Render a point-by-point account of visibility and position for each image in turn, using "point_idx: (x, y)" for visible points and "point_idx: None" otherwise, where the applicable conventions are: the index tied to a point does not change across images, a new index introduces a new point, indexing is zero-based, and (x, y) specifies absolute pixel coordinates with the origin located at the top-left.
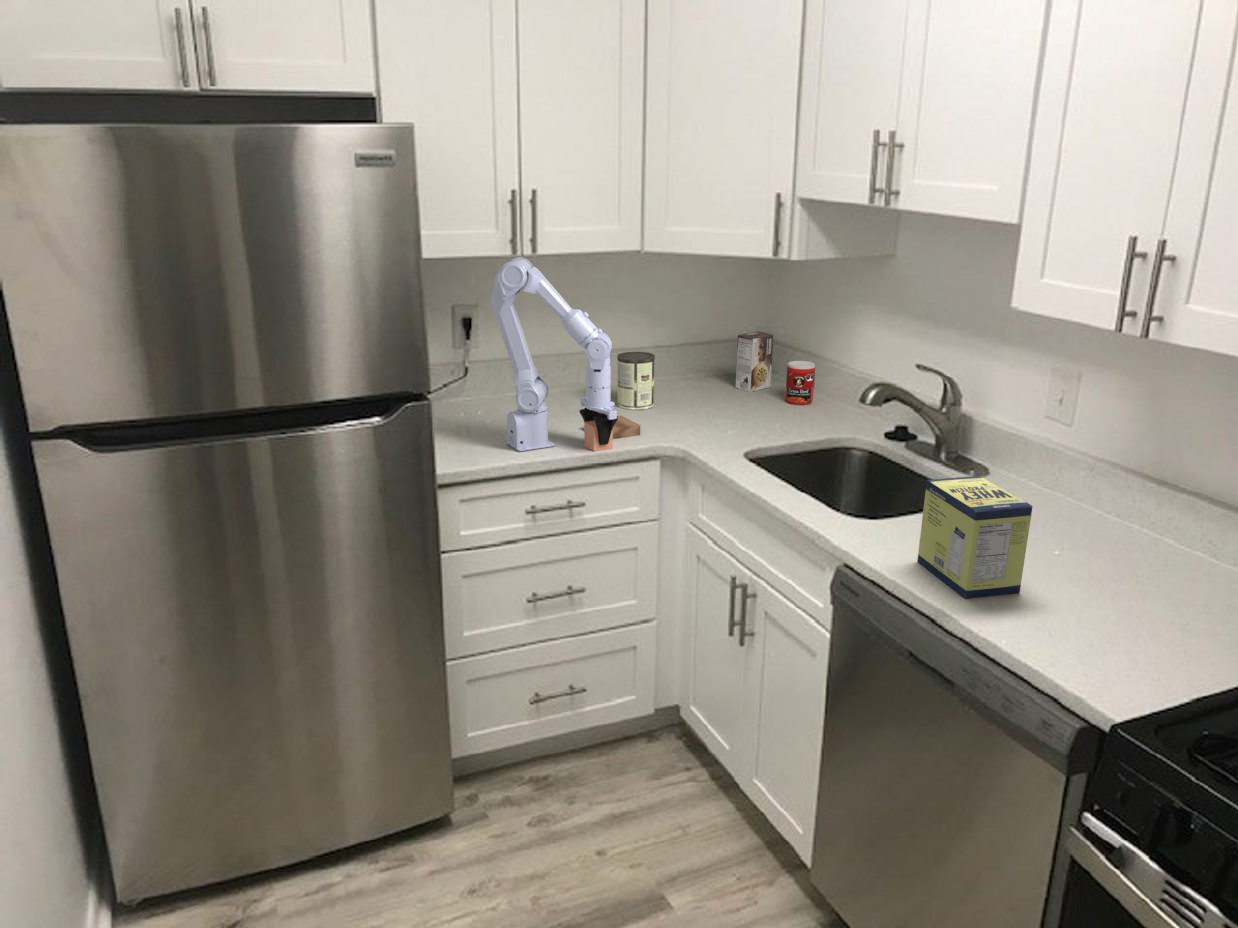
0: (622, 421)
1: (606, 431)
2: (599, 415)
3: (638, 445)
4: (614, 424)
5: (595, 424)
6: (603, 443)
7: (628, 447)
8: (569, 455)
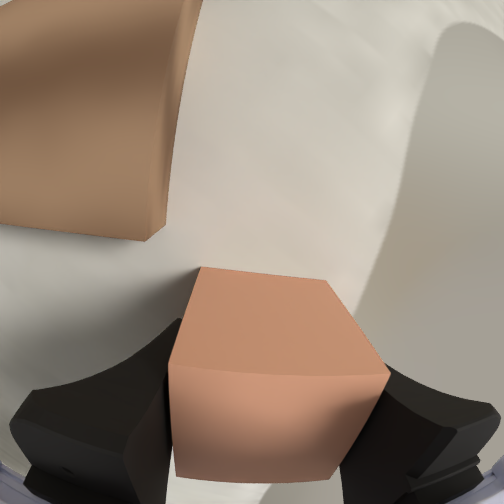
0: (54, 21)
1: None
2: (150, 420)
3: (369, 117)
4: (444, 393)
5: (285, 464)
6: None
7: (366, 189)
8: None
